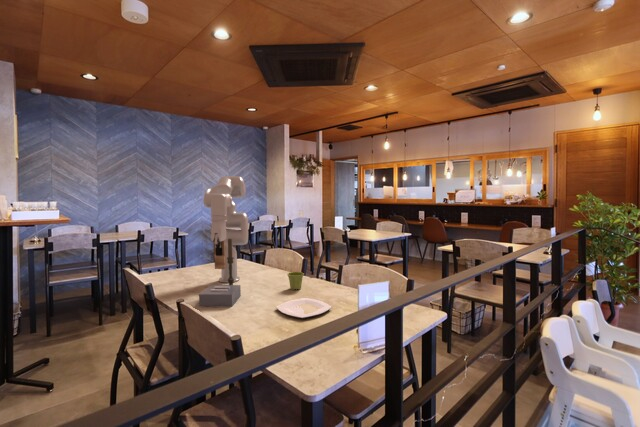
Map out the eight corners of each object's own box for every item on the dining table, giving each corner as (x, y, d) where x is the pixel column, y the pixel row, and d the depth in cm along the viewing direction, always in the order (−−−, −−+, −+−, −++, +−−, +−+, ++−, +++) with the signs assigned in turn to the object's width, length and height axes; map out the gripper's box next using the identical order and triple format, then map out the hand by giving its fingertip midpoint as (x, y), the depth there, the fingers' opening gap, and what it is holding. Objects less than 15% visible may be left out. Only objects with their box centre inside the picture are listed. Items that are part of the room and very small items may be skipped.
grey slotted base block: (210, 296, 180) (210, 283, 180) (240, 296, 180) (240, 283, 179) (199, 306, 164) (199, 293, 164) (232, 306, 164) (231, 293, 163)
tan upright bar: (216, 267, 172) (215, 240, 171) (226, 267, 172) (225, 240, 171) (214, 268, 169) (213, 241, 168) (224, 268, 169) (223, 241, 168)
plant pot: (284, 289, 191) (284, 274, 190) (293, 285, 199) (293, 271, 199) (298, 292, 187) (298, 276, 186) (306, 287, 195) (306, 272, 194)
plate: (269, 310, 159) (269, 306, 159) (305, 299, 175) (305, 295, 175) (301, 324, 143) (301, 320, 143) (338, 310, 159) (338, 306, 159)
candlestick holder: (224, 293, 184) (223, 239, 181) (221, 289, 192) (219, 237, 190) (241, 291, 188) (240, 237, 186) (237, 287, 196) (236, 235, 194)
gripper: (216, 217, 177) (217, 252, 178) (206, 220, 161) (207, 258, 162) (231, 217, 177) (231, 252, 178) (221, 220, 161) (222, 258, 162)
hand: (220, 254), depth 170 cm, fingers closed on tan upright bar, 2 cm apart
